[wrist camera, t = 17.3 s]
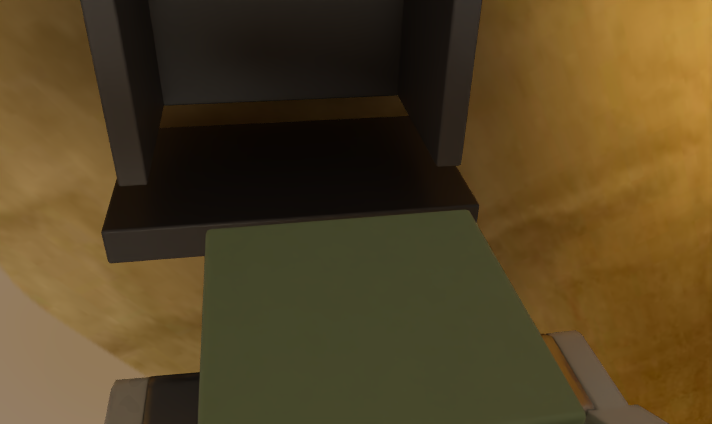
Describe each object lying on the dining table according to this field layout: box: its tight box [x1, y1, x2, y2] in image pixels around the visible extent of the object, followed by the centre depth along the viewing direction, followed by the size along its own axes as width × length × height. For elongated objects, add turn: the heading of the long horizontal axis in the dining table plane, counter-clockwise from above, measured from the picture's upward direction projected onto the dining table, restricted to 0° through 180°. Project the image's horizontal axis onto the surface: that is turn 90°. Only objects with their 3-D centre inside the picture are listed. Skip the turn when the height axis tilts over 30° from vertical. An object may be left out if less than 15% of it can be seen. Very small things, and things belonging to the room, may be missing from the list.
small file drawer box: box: [80, 0, 482, 263], centre depth 20 cm, size 19×11×7 cm, turn 179°
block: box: [198, 210, 586, 424], centre depth 10 cm, size 4×4×4 cm
